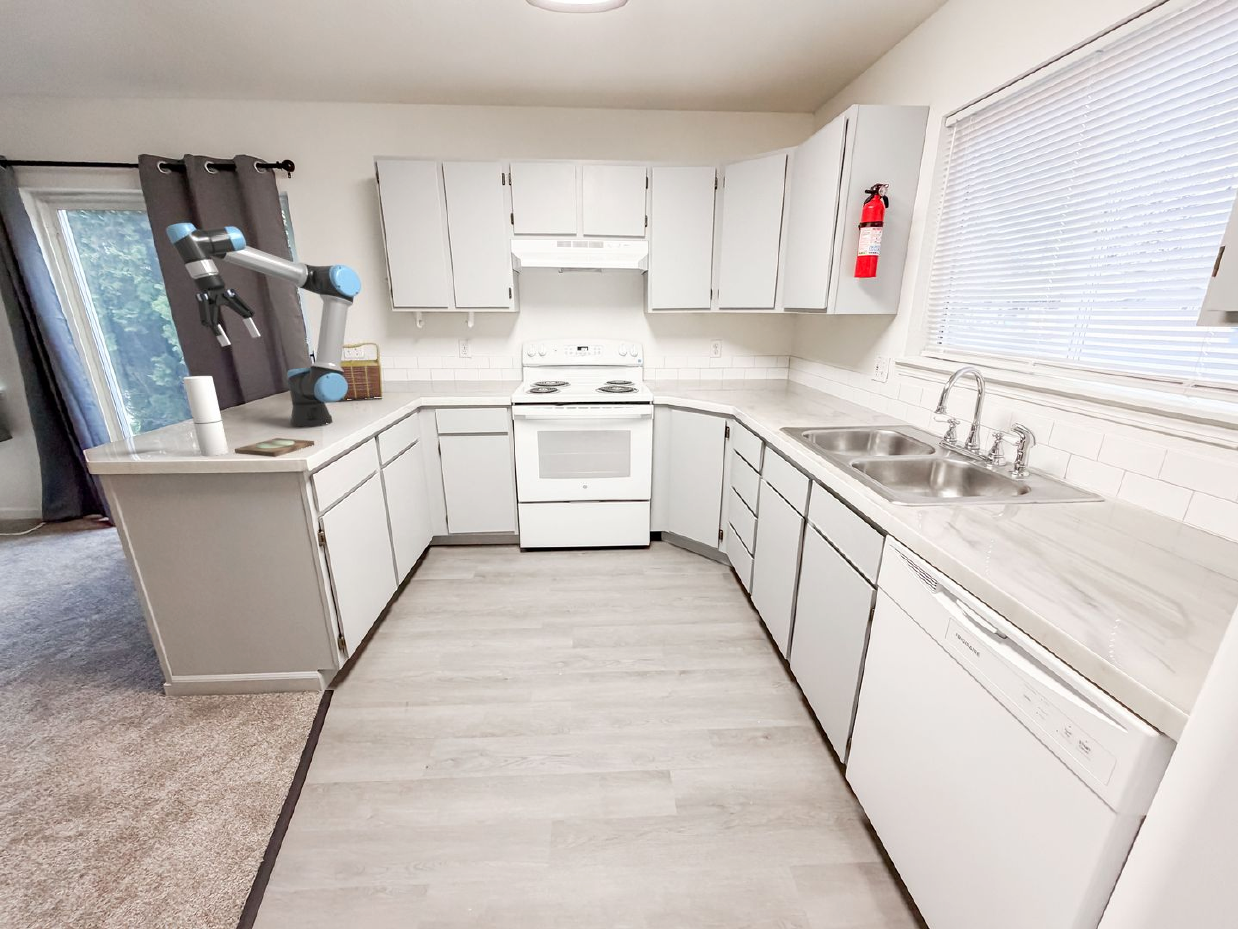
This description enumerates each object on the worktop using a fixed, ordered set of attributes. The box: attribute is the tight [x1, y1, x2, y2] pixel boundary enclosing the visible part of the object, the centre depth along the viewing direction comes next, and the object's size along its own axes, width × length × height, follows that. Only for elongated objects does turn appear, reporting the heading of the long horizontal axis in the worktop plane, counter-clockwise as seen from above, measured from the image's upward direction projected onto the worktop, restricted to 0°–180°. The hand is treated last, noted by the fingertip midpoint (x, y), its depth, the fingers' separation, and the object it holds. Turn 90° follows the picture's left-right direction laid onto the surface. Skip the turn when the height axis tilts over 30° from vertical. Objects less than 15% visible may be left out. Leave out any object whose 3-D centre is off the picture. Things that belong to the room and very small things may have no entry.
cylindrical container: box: [182, 375, 230, 457], centre depth 161 cm, size 7×7×25 cm
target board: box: [234, 437, 315, 458], centre depth 171 cm, size 16×16×2 cm
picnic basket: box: [317, 342, 383, 401], centre depth 270 cm, size 29×26×30 cm
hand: (242, 341), depth 170 cm, fingers open, 13 cm apart
